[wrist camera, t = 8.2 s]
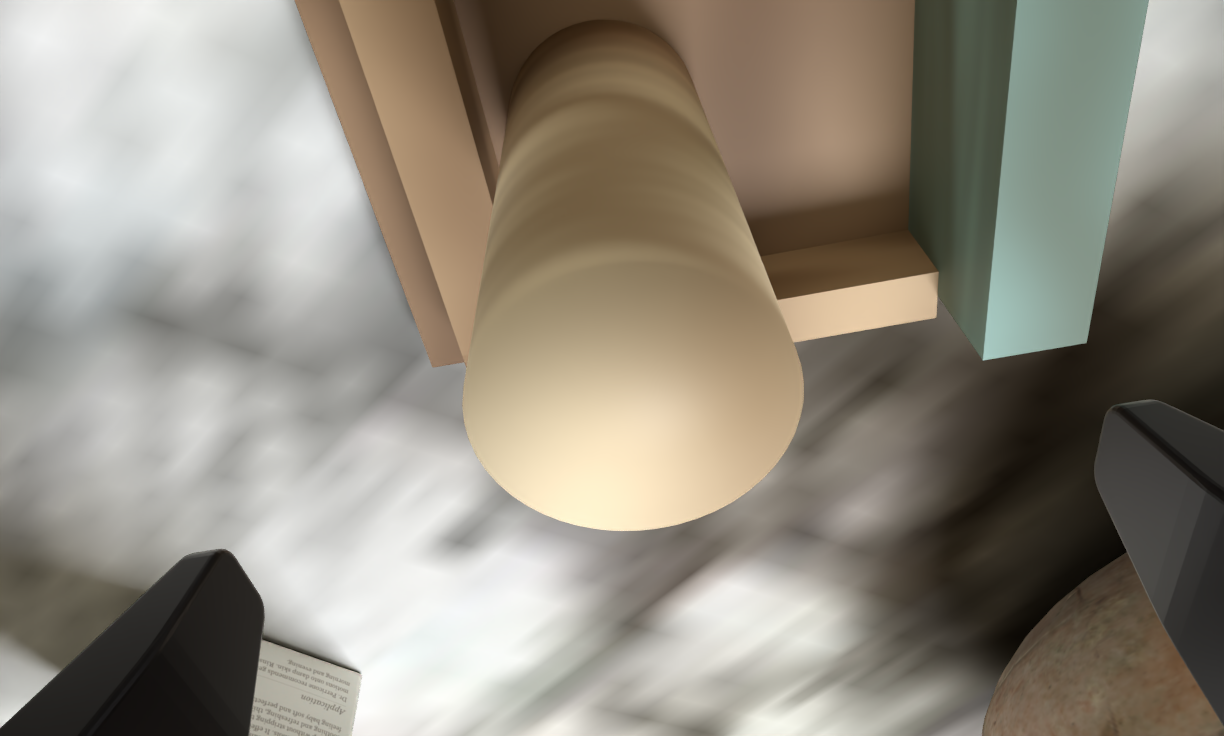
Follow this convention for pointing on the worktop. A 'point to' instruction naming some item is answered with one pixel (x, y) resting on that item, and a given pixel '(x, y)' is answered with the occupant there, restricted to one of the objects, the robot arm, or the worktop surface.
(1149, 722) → the cooking pot
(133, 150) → the worktop surface
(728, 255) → the peg
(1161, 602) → the robot arm
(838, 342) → the worktop surface
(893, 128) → the cradle
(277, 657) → the skincare box
